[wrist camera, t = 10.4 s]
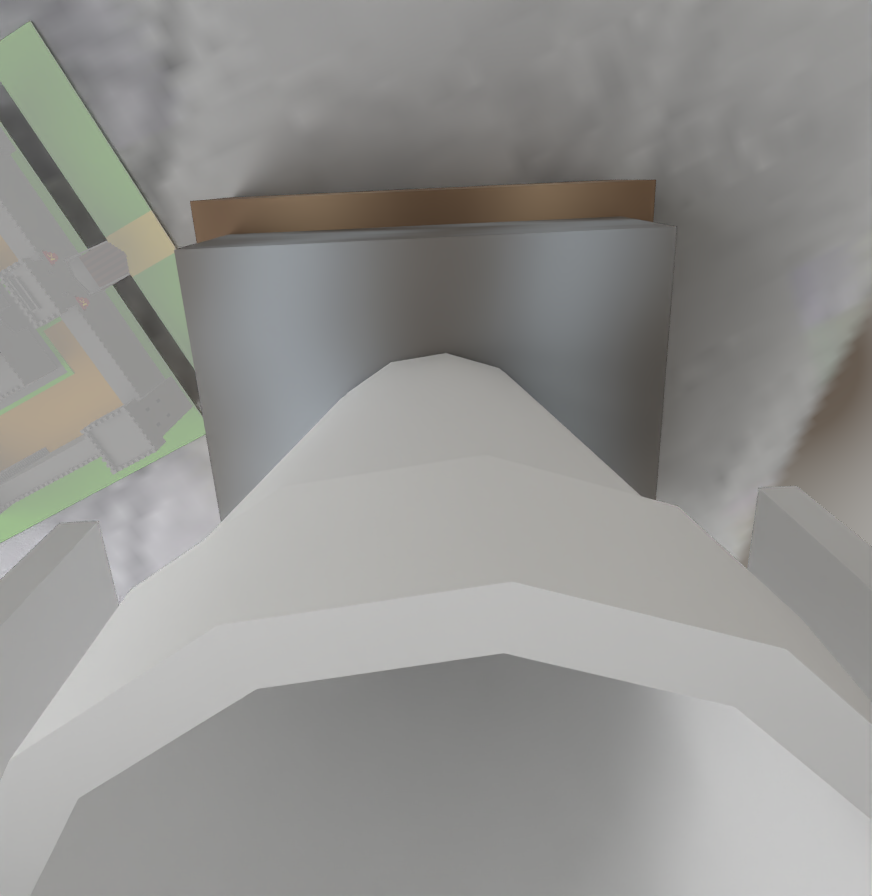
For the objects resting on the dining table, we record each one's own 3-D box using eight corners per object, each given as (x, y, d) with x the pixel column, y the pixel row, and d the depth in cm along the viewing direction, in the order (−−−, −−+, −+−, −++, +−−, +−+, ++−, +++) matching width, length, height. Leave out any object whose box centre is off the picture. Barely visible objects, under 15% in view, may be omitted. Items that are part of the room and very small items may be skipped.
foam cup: (584, 623, 21) (812, 1267, 8) (269, 610, 20) (38, 1259, 8) (638, 300, 17) (1152, 609, 5) (258, 278, 17) (-173, 552, 5)
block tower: (279, 535, 31) (217, 691, 21) (232, 197, 25) (123, 207, 16) (597, 520, 31) (674, 669, 21) (613, 179, 26) (723, 179, 16)
